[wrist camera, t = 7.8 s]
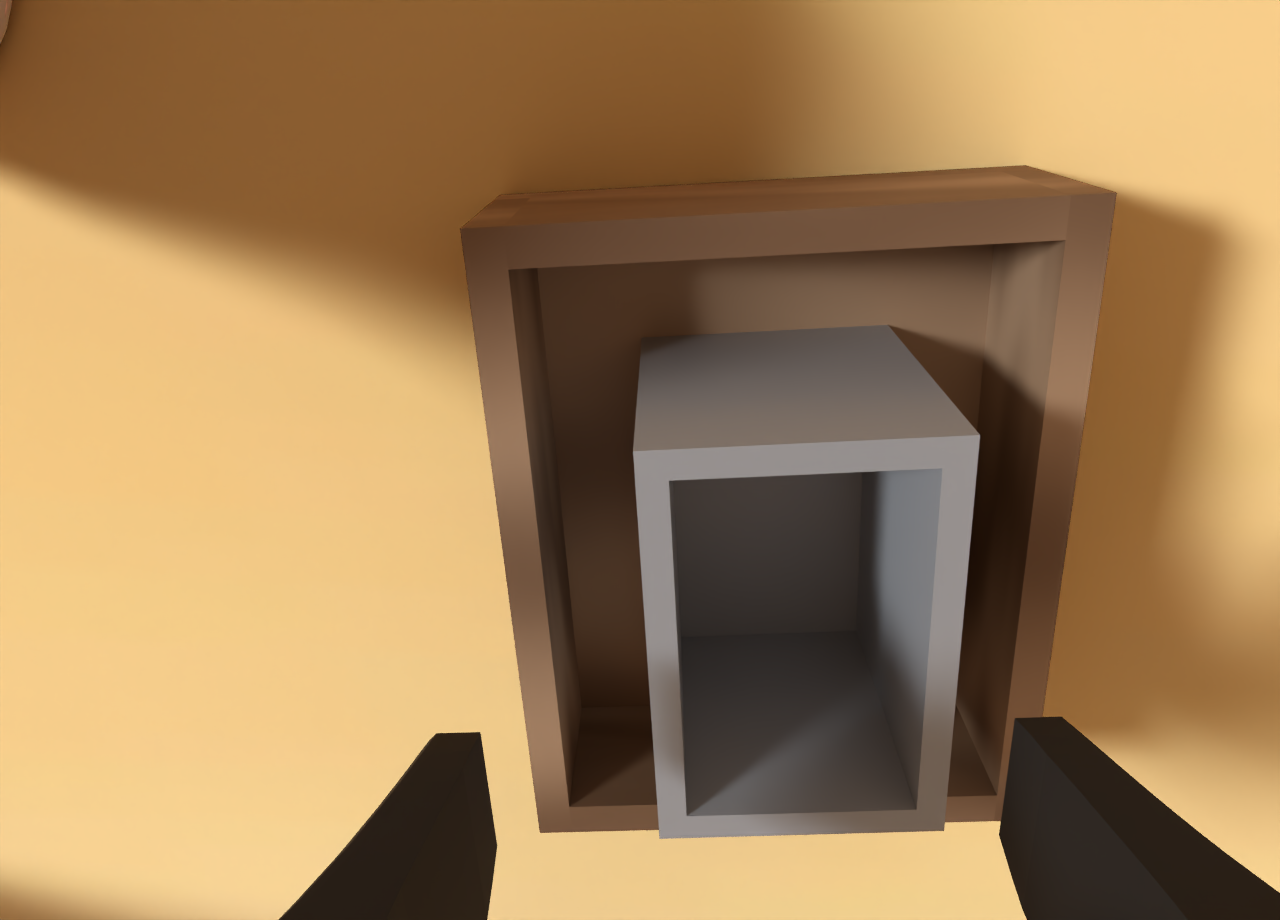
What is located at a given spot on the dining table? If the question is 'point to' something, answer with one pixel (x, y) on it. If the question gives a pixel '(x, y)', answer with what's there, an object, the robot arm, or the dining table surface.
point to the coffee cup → (4, 16)
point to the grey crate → (800, 580)
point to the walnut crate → (770, 301)
